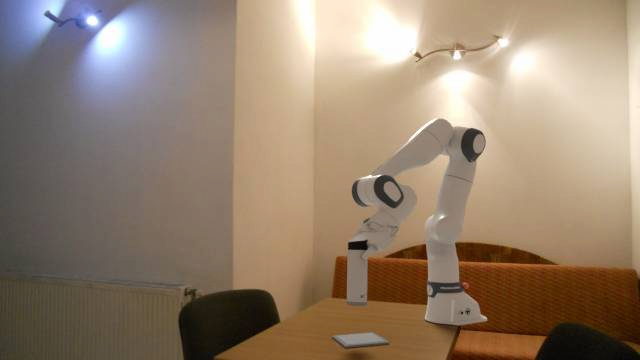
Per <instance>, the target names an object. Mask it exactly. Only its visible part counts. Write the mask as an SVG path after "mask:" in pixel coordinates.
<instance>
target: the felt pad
mask: <svg viewBox="0 0 640 360" xmlns="http://www.w3.org/2000/svg"><path fill="white" fill-rule="evenodd" d="M331 336H332V337H331V338H332V339H333V340H334V341H336V342H337V343H338V344H339V345H341V346H342V347H343V348H344V349H350V348H351V349H352V348H359V347H370V346H372V345H373V346H381V345H389V344H390V341H388V340H386V339H385V338H384V337H382V336H380V335H379V334H377V333H375V332H373V331H370V332H359V333H348V334H336V335H331Z"/></svg>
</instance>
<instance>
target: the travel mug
mask: <svg viewBox="0 0 640 360" xmlns="http://www.w3.org/2000/svg"><path fill="white" fill-rule="evenodd" d="M366 243H367V240H365V241H354V242H349V241H348V243H347V263H346V264H347V266H346V267H347V269H346V270H347V273H346V274H347V275H346V305H347V306H351V307H366V306H367V305H368V266H369V265H368V264H369V263H368V260H369V257H368V258H367V260H362V258H361V257H360V255H361V254H362V253H363V252H365V251H366V250H367V249H368V248H367V247H368V246H367V244H366Z"/></svg>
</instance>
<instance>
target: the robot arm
mask: <svg viewBox="0 0 640 360" xmlns="http://www.w3.org/2000/svg"><path fill="white" fill-rule="evenodd" d="M483 132H484V131H481V129H477V128H474V127H466V126H465V127H464V126H457V125H455V126H453V125H452V124H451V122H449V121H448V120H446V119H445V118H439V117H438V118H434V119H433V120H431V121H429V122H428V123H426V124H425V125H423V126H422V127H421V128H420V129H418V130H417V131H416V132H415V133H414V134H413V135H412V136H411V137H410V138H409V139H408V141H406V142H405V143H404V144H403V145H402V147H400V148H399V149H398V150H397V151H396V152H395V153H394V154H393V155H392V156H391V157H389V158H388V159H387V160H385V162H383V163H382V164H381V165H380V166H379V167H377V168H376V169H375V170H374V171H372V173H370V174H368V175H366V176H364V177H360V178H357V179H356V180H355V181H354V182H353V184H352V186H351V196H352V200H353V201H354V202H355V204H357V205H358V206H359V207H363V208H366V207H371V206H377V208H378V209H377V211H376V212H375V213H374V214H373V215H372V216H370V217H368V218H366V219H365V218H364V219H363V221H361V223H360V224H361V226H360V227H358V228H357V229H356V230H355V232H354V233H353V234H352V235H351V237H349V240H348V243H349V242H354V241H365V240H367V243H366V244H367V246H368V247H367V248H368V249H367V250H366V251H365V252H363V253H362V254H361V255H360V257H361V258H362V260H367V258H368V259H369V258H370V256H373V254H375V253H376V252H386V251H388V250H389V249H390V247H392V245H393V243H394V241H395V240H396V238H397V233H398V232H399V230H400V228H401V225H402V224H403V222H405V221H406V220H407V219H408V218H409V216H410V215H411V214H412V212H413V211H414V209H415V208H416V206H417V203H418V195H417V193H416V192H415V190H414V189H413V188H412V187H411V186H409V185H408V184H407V185H405V184H402V183H400V182H398V181H396V179H395V178H396V177H397V176H398V175H400V174H402V173H404V172H407V171H409V170H414V169H417V168H421V167H424V166H427V165H428V164H430V163H431V162H432V161H434V160H436V159H437V158H438V157H439V156H440V155H443V156H447V157H448V158H449V159H448V160H449V161H448V163H447V165H446V167H445V170H444V173H443V175H442V178H441V182H440V185H439V187H438V188H439V189H438V191H437V194H436V202H435V208H434V211H433V214H432V215H430V216H429V217H428V218H427V219H426V221H425V223H424V239H425V246H426V256H427V274H428V275H427V277H428V278H427V281H426V284H427V285H426V293H427V304H426V305H427V306H426V312H425V316H424V320H425V321H427V322H430V323H434V324H441V325H442V324H443V325H452V326H466V325H472V324H477V323H485V322H487V321H488V318H487V316H485V315H483V314H481V309H480V305H479V303H478V302H477V301H476V300H475V299H473V298H472V297H471V296H470V295H469V294H467V293H466V292H465V290H466V289H469V288H470V284H469V283H468V282H462V281H460V271H459V270H460V269H459V268H460V267H459V258H458V254H457V247H456V242H457V241H458V240H460V238H461V237H462V234H463V227H464V221H465V215H466V208H467V203H468V200H469V196H470V194H471V190H472V188H473V185H474V180H475V177H476V171H477V170H476V169H477V162H478V161H477V160H478V158H479V157H480V156H481V155H482V154H483V152H484V150H485V147H486V144H487V142H486V137H485V133H483ZM464 289H465V290H464Z"/></svg>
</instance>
